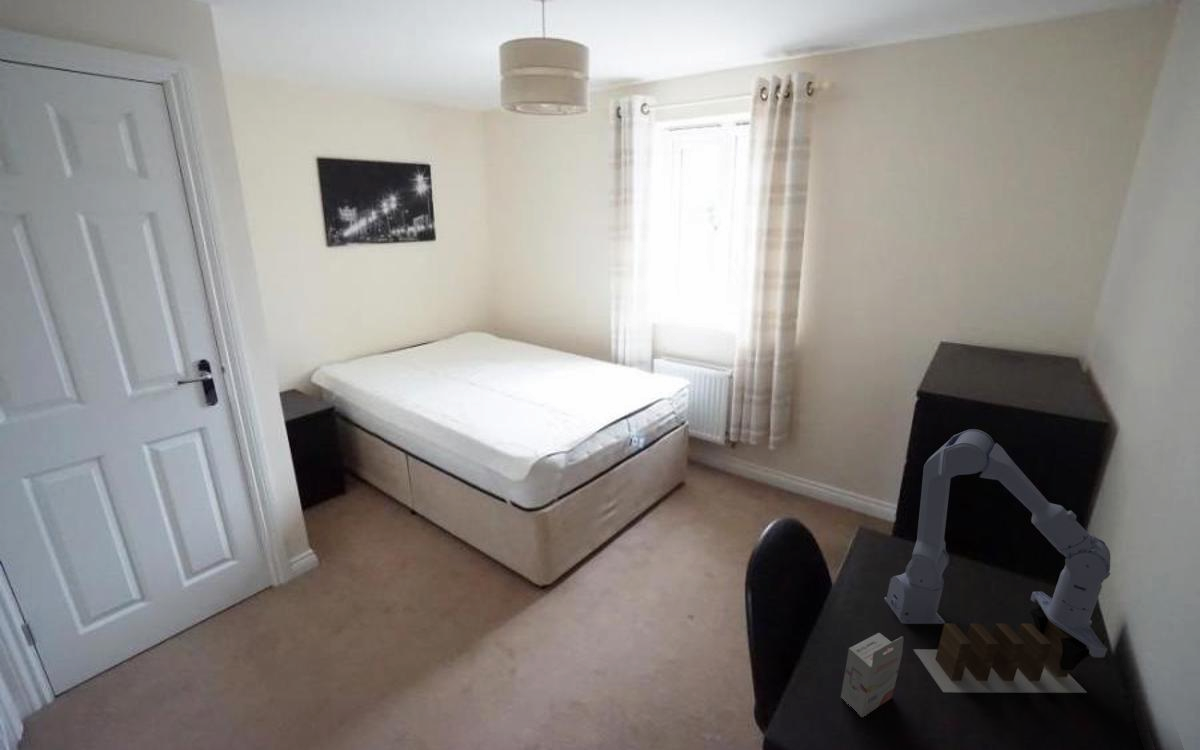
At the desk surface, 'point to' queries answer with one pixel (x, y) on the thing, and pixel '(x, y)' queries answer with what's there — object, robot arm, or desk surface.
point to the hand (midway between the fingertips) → (1054, 656)
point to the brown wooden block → (1055, 648)
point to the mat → (997, 680)
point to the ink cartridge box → (871, 673)
